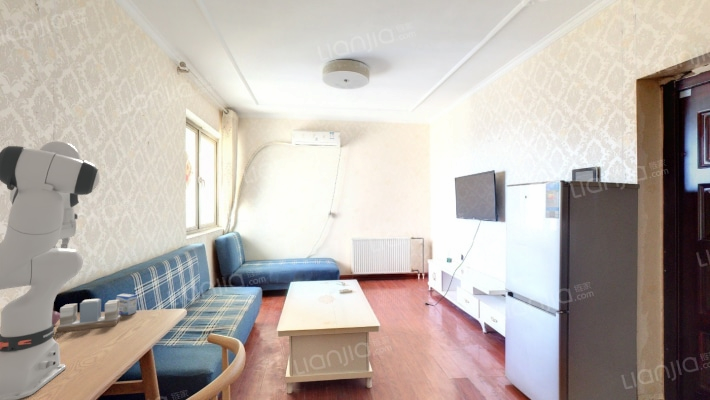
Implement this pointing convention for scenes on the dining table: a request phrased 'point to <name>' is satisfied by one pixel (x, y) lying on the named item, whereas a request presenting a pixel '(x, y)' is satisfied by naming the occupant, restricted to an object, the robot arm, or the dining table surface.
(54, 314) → the video game controller
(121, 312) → the medicine box
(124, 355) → the dining table surface
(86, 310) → the module block
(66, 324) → the rail mount
